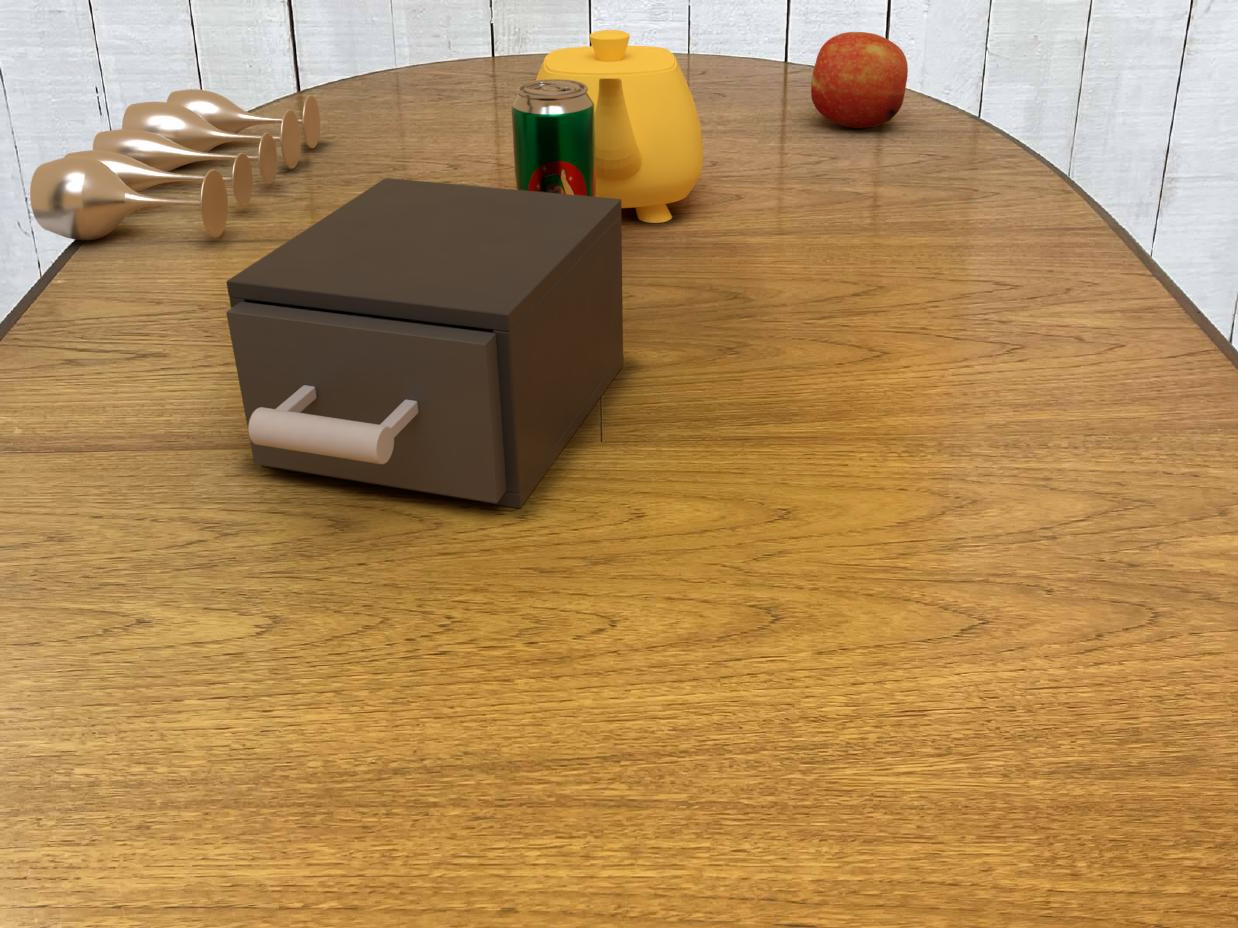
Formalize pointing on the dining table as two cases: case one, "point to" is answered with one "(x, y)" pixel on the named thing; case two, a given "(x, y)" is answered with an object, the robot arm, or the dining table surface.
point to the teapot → (636, 121)
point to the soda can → (554, 138)
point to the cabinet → (476, 293)
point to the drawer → (371, 399)
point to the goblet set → (162, 163)
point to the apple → (859, 79)
